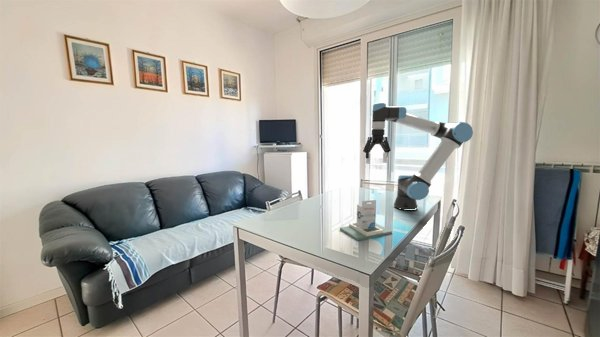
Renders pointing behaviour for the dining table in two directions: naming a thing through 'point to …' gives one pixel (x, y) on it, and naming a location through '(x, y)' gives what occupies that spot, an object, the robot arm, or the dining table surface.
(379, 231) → the board
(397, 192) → the robot arm
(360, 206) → the ink box
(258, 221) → the dining table surface
